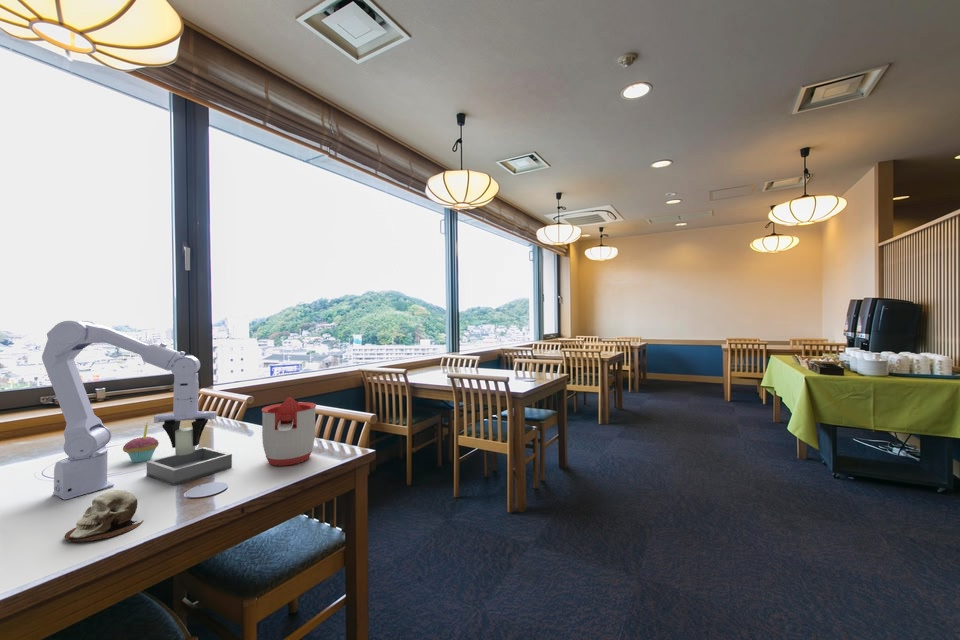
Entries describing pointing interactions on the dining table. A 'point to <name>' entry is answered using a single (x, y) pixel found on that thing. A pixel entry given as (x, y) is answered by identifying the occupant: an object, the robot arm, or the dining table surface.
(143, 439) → the cupcake
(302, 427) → the citrus juicer
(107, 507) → the skull
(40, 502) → the dining table surface
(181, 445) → the white pillar candle
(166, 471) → the bin
